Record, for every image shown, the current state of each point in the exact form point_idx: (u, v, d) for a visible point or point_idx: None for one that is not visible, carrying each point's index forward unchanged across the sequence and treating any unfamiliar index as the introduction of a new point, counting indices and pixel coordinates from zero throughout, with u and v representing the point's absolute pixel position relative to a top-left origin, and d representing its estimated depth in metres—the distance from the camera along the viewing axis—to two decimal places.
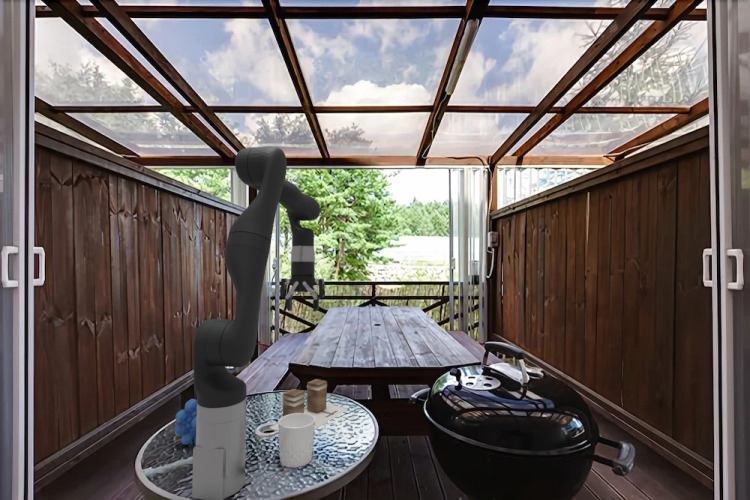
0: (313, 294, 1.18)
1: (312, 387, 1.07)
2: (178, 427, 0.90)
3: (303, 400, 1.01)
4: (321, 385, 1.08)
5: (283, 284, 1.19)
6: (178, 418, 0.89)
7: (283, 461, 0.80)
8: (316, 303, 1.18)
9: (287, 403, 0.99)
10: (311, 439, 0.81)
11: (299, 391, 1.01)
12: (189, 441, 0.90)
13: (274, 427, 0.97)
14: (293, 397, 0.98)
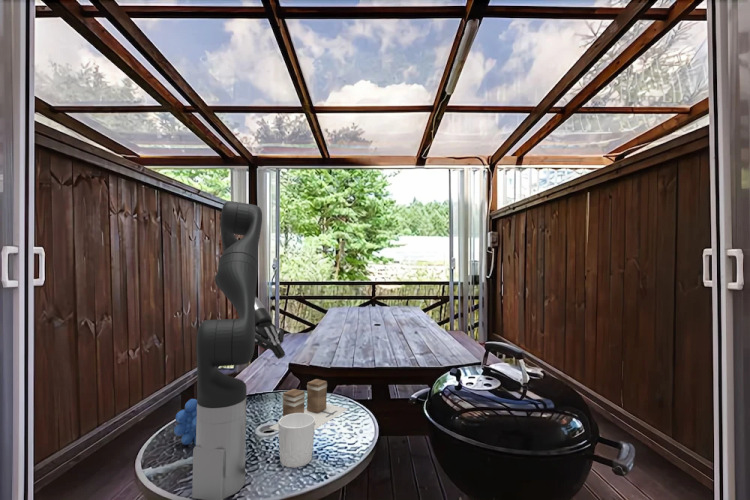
0: (277, 339, 1.19)
1: (312, 387, 1.07)
2: (178, 427, 0.90)
3: (303, 400, 1.01)
4: (321, 385, 1.08)
5: (260, 337, 1.15)
6: (178, 418, 0.89)
7: (283, 461, 0.80)
8: (280, 348, 1.18)
9: (287, 403, 0.99)
10: (311, 439, 0.81)
11: (299, 391, 1.01)
12: (189, 441, 0.90)
13: (274, 427, 0.97)
14: (293, 397, 0.98)
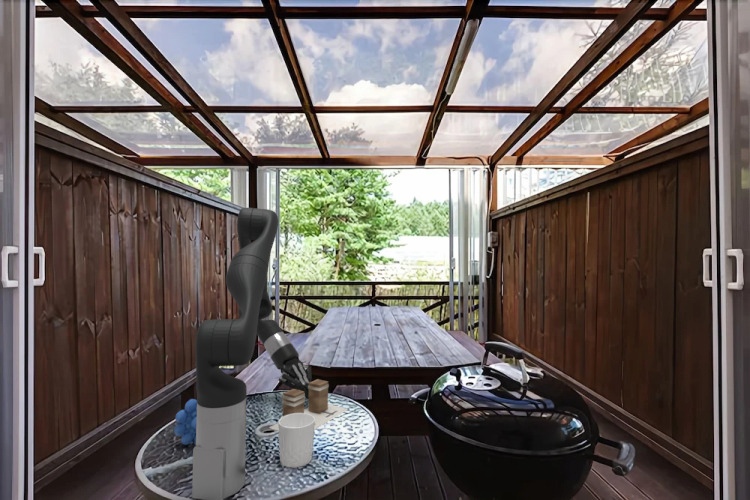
0: (305, 378, 1.12)
1: (313, 387, 1.07)
2: (178, 427, 0.90)
3: (303, 400, 1.01)
4: (322, 385, 1.07)
5: (288, 376, 1.09)
6: (178, 418, 0.89)
7: (283, 461, 0.80)
8: None
9: (287, 403, 0.99)
10: (311, 439, 0.81)
11: (299, 391, 1.01)
12: (189, 441, 0.90)
13: (274, 427, 0.97)
14: (293, 397, 0.98)
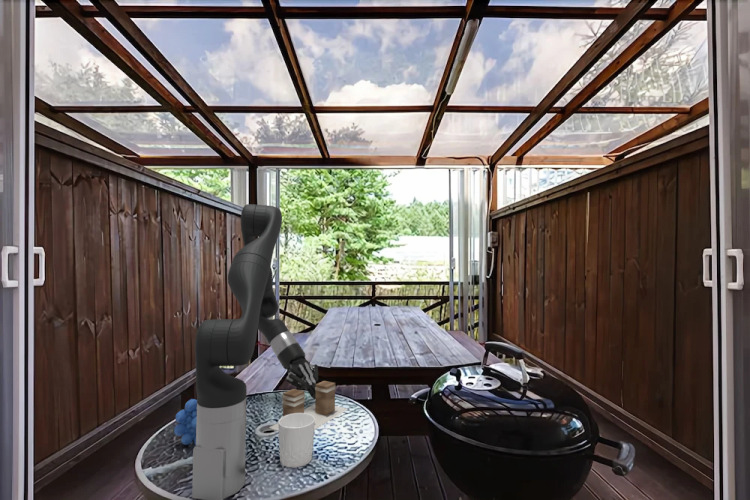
0: (312, 378, 1.11)
1: (320, 389, 1.06)
2: (178, 427, 0.90)
3: (303, 400, 1.01)
4: (330, 387, 1.06)
5: (295, 376, 1.07)
6: (178, 418, 0.89)
7: (283, 461, 0.80)
8: None
9: (287, 403, 0.99)
10: (311, 439, 0.81)
11: (299, 391, 1.01)
12: (189, 441, 0.90)
13: (274, 427, 0.97)
14: (293, 397, 0.98)
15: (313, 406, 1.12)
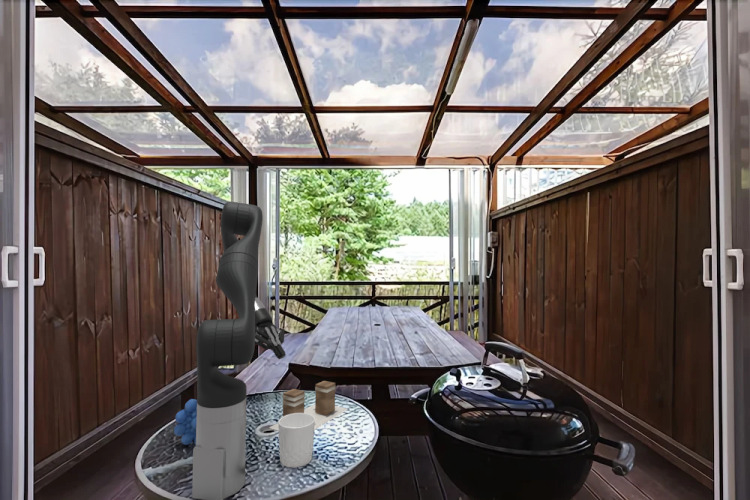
0: (277, 340, 1.19)
1: (320, 389, 1.06)
2: (178, 427, 0.90)
3: (303, 400, 1.01)
4: (330, 387, 1.06)
5: (261, 337, 1.15)
6: (178, 418, 0.89)
7: (283, 461, 0.80)
8: (281, 348, 1.18)
9: (287, 403, 0.99)
10: (311, 439, 0.81)
11: (299, 391, 1.01)
12: (189, 441, 0.90)
13: (274, 427, 0.97)
14: (293, 397, 0.98)
15: (313, 406, 1.12)
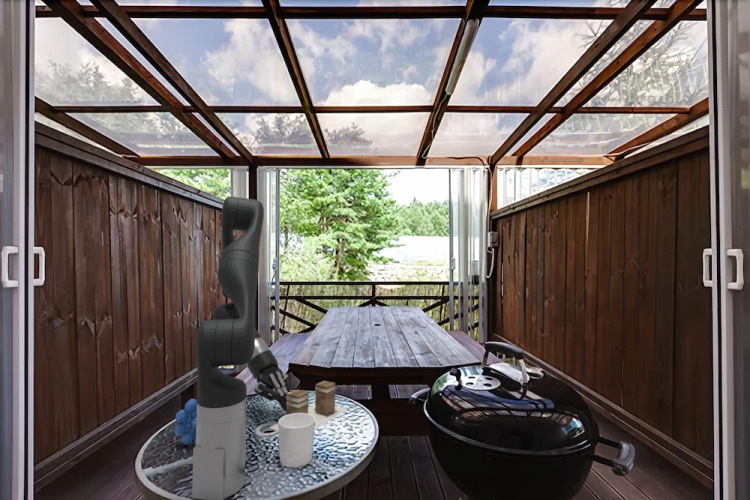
0: (284, 388, 1.03)
1: (320, 389, 1.06)
2: (178, 427, 0.90)
3: (307, 401, 1.00)
4: (330, 387, 1.06)
5: (265, 387, 0.99)
6: (178, 418, 0.89)
7: (283, 461, 0.80)
8: None
9: (291, 404, 0.98)
10: (311, 439, 0.81)
11: (303, 392, 1.00)
12: (189, 441, 0.90)
13: (274, 427, 0.97)
14: (297, 398, 0.97)
15: (313, 406, 1.12)
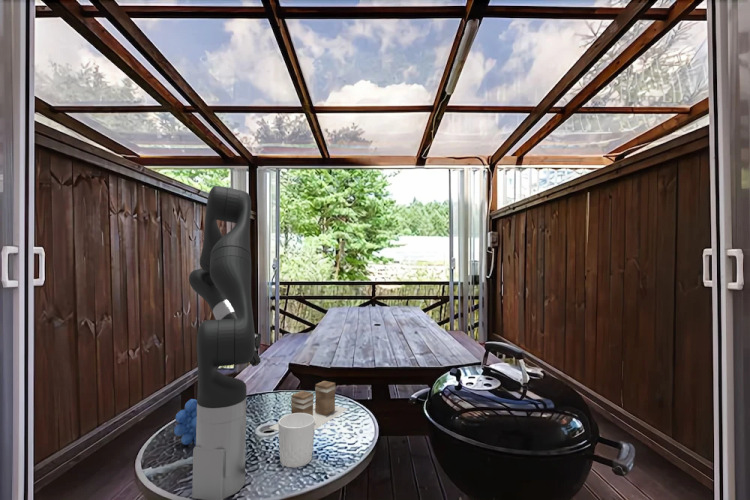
0: None
1: (320, 389, 1.06)
2: (178, 427, 0.90)
3: (312, 402, 0.99)
4: (330, 387, 1.06)
5: None
6: (178, 418, 0.89)
7: (283, 461, 0.80)
8: (256, 354, 1.09)
9: (295, 405, 0.97)
10: (311, 439, 0.81)
11: (308, 393, 1.00)
12: (189, 441, 0.90)
13: (274, 427, 0.97)
14: (302, 399, 0.96)
15: (313, 406, 1.12)
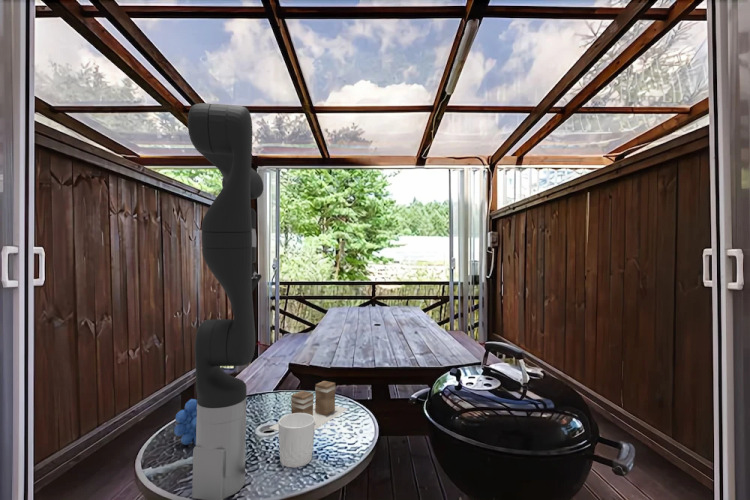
0: None
1: (320, 389, 1.06)
2: (178, 427, 0.90)
3: (312, 402, 0.99)
4: (330, 387, 1.06)
5: None
6: (178, 418, 0.89)
7: (283, 461, 0.80)
8: None
9: (295, 405, 0.97)
10: (311, 439, 0.81)
11: (308, 393, 1.00)
12: (189, 441, 0.90)
13: (274, 427, 0.97)
14: (302, 399, 0.96)
15: (313, 406, 1.12)
